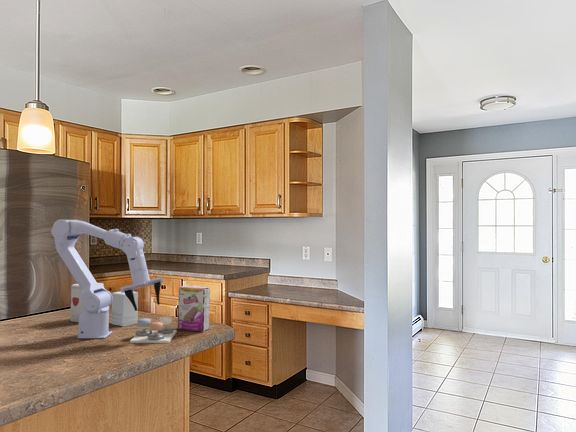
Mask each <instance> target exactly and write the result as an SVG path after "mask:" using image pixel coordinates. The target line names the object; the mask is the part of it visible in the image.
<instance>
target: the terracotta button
mask: <svg viewBox="0 0 576 432" xmlns="http://www.w3.org/2000/svg"><path fill="white" fill-rule="evenodd" d="M148 327H149V329H148V330H152V331H157V330H162V329H163V328H164V325H163V322H159V321H151V323H150V326H148Z"/></svg>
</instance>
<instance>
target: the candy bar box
mask: <svg viewBox="0 0 576 432" xmlns="http://www.w3.org/2000/svg"><path fill="white" fill-rule="evenodd" d="M210 295H211V287H210V286H209V287H208V286H198V285H188V284H187V285H182V286H179V287H178V312H177V313H178V316H177V330H184V331H193V332H194V331H195V332H206V331H208V330H210V304H211V303H210V301H211V300H210V299H211V298H210Z"/></svg>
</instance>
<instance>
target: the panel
mask: <svg viewBox="0 0 576 432" xmlns="http://www.w3.org/2000/svg"><path fill="white" fill-rule="evenodd" d="M177 332H178V329H174V328H173V327H168V326H163V329H162V330H157V331H152V330H149V329H147V328H141V329H139V330H138V329H137V330H136V331H135V335H134V336H133V337H132V338H131V339H129V343H130V344H134V343H135V344H169V343H170V342H171V340H172V339H173V338H174V336H175V335H176V334H177Z"/></svg>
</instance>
